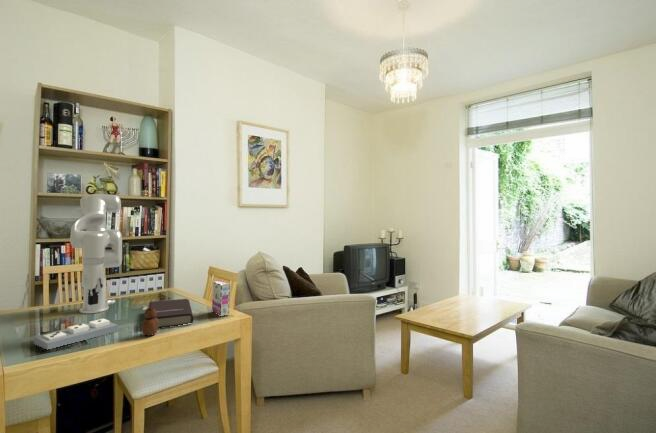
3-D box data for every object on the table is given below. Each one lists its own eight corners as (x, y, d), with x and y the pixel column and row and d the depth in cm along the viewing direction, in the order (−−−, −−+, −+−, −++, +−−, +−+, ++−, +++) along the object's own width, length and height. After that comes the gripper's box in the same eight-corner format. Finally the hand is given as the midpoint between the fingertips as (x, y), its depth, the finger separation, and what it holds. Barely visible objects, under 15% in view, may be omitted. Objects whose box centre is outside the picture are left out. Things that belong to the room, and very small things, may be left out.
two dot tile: (82, 330, 142) (82, 322, 142) (89, 333, 139) (89, 325, 139) (67, 334, 137) (67, 326, 137) (73, 337, 134) (73, 329, 134)
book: (193, 325, 157) (193, 313, 157) (146, 330, 149) (146, 317, 149) (189, 309, 182) (189, 298, 182) (149, 313, 174) (149, 301, 174)
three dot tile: (60, 338, 135) (60, 330, 135) (66, 341, 132) (66, 333, 132) (43, 343, 130) (43, 334, 130) (49, 346, 127) (49, 337, 127)
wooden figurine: (146, 332, 146) (147, 298, 146) (160, 332, 147) (161, 298, 146) (139, 338, 139) (140, 302, 139) (153, 337, 140) (154, 302, 140)
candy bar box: (229, 315, 172) (230, 284, 172) (220, 317, 169) (220, 285, 168) (220, 310, 180) (221, 280, 180) (211, 312, 177) (212, 281, 177)
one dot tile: (103, 325, 149) (103, 317, 149) (109, 327, 146) (109, 320, 146) (89, 328, 144) (89, 321, 144) (95, 331, 141) (95, 323, 141)
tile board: (103, 326, 152) (103, 319, 152) (117, 331, 146) (117, 324, 146) (34, 344, 130) (34, 336, 130) (47, 351, 124) (47, 343, 124)
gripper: (75, 260, 143) (74, 303, 143) (92, 264, 135) (91, 309, 135) (95, 258, 149) (94, 299, 150) (112, 262, 141) (111, 305, 142)
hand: (92, 304), depth 143 cm, fingers closed
